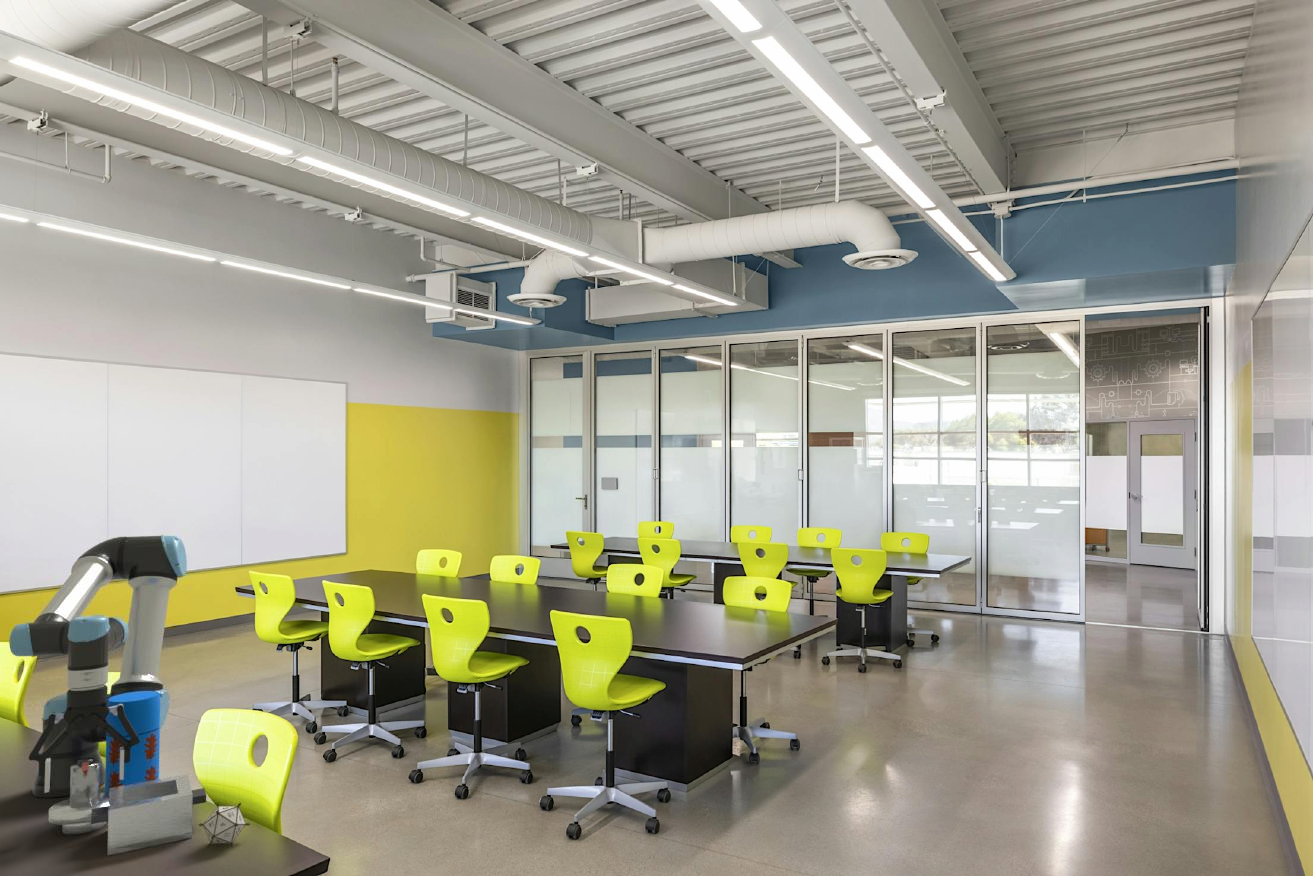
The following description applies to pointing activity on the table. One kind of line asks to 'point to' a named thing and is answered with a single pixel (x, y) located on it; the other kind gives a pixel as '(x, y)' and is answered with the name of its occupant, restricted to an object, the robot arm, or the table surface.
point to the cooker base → (149, 813)
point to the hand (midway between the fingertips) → (85, 784)
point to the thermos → (143, 756)
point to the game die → (224, 824)
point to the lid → (80, 799)
